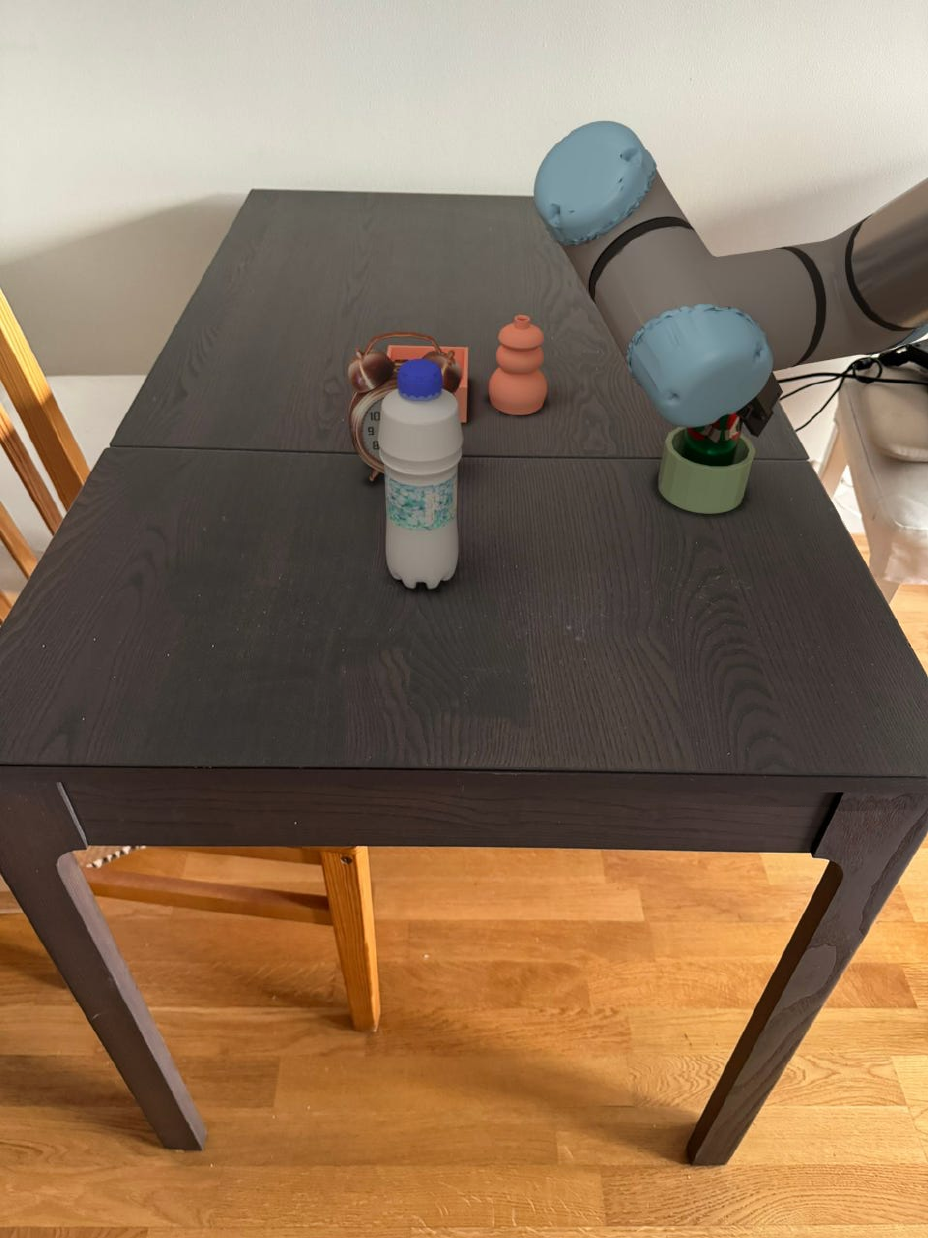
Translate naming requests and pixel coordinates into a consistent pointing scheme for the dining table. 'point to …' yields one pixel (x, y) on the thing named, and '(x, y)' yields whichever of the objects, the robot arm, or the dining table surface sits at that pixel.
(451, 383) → the alarm clock
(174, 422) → the dining table surface
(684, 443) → the soda can
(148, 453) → the dining table surface
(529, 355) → the pottery
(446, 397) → the bottle
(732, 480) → the cup
